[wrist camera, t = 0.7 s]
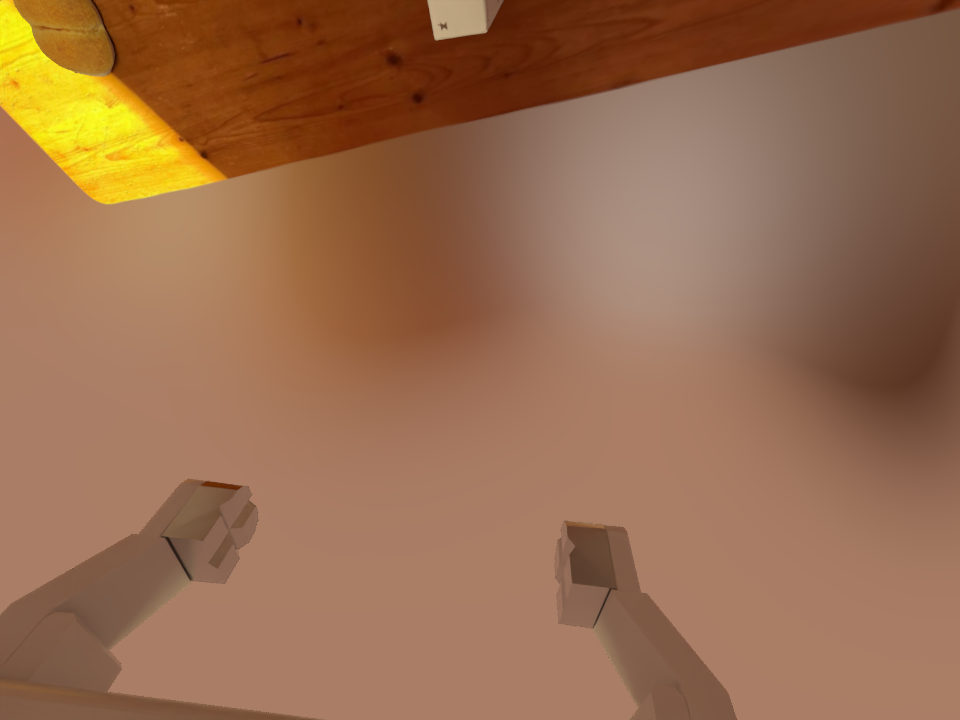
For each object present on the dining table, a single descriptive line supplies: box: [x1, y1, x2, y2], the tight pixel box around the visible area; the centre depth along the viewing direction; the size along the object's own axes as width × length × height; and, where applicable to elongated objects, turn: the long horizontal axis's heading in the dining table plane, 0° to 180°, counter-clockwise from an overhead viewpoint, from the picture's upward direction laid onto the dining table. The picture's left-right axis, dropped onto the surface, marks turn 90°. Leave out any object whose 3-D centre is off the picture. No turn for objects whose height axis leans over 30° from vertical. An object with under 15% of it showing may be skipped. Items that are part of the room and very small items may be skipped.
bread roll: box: [14, 0, 115, 76], centre depth 45 cm, size 8×9×4 cm
